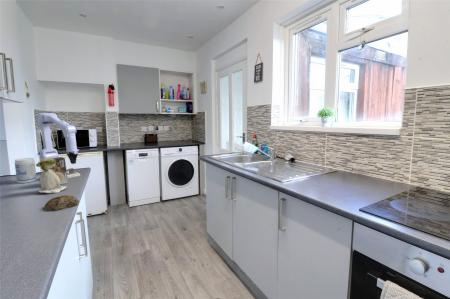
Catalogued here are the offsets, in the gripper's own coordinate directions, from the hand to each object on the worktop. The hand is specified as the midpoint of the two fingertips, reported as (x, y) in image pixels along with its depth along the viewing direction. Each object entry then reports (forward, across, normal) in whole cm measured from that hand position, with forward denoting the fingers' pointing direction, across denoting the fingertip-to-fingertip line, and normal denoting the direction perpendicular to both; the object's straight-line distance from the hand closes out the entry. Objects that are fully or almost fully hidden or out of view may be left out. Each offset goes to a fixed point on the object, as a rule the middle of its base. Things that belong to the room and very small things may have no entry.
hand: (73, 163), depth 153 cm
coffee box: (+10, -10, +12) cm, 19 cm away
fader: (+8, +6, 0) cm, 10 cm away
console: (+9, +9, +3) cm, 13 cm away
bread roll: (+10, -53, +23) cm, 58 cm away
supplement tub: (+10, +14, +23) cm, 28 cm away
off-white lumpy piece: (+10, -23, +18) cm, 31 cm away
